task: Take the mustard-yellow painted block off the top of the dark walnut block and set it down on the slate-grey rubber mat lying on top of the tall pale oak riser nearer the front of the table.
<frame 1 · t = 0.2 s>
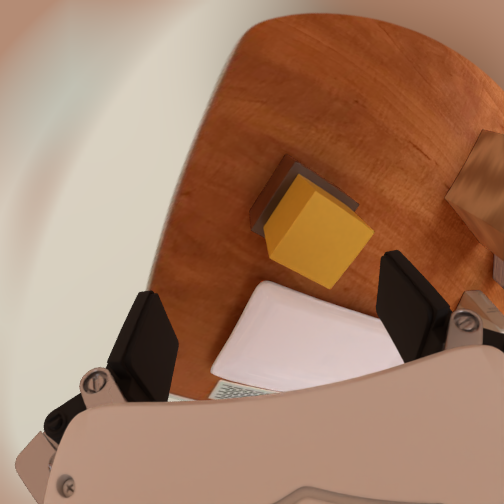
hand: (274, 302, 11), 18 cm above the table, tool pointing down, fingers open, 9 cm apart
top block: (307, 216, 23), point 5 cm above the table, touching base block
riser: (484, 189, 27), on the table
box: (467, 299, 36), on the table
base block: (296, 200, 28), on the table, touching top block
tray: (332, 345, 38), on the table
medicine box: (499, 254, 33), on the table
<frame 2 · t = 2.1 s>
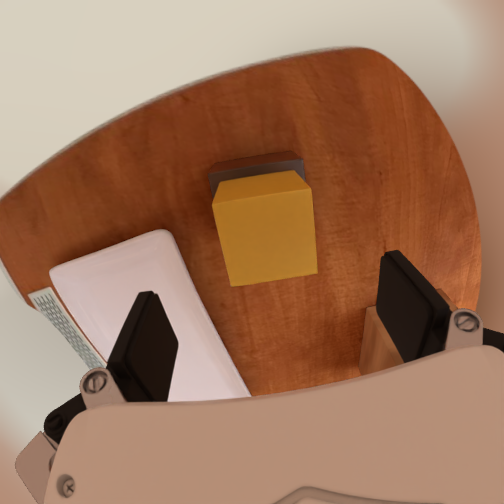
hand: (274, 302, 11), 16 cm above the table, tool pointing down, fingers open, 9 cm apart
top block: (262, 210, 21), point 5 cm above the table, touching base block
riser: (399, 330, 35), on the table
base block: (259, 193, 25), on the table, touching top block
tray: (167, 342, 34), on the table
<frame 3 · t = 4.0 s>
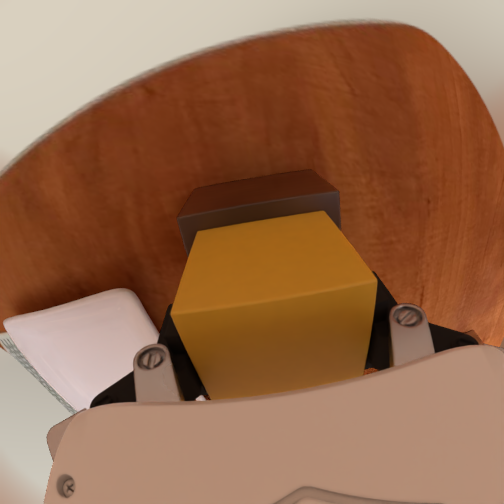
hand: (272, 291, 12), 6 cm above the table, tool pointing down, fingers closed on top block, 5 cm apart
top block: (269, 274, 13), point 5 cm above the table, touching base block, gripper
base block: (262, 232, 17), on the table, touching top block
tray: (150, 398, 26), on the table
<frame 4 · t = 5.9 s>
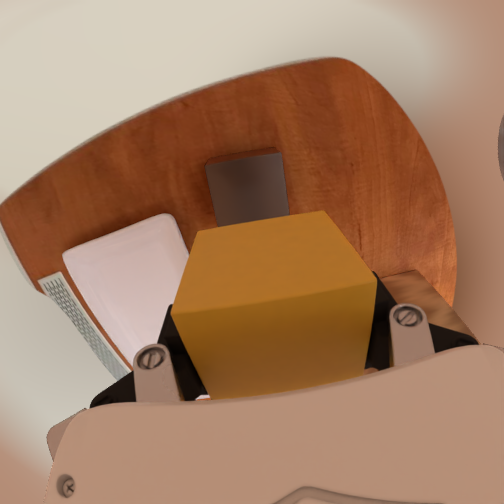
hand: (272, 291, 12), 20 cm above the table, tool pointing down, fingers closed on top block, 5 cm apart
top block: (269, 274, 13), point 19 cm above the table, touching gripper
riser: (379, 309, 39), on the table
base block: (247, 182, 30), on the table
tray: (167, 320, 38), on the table
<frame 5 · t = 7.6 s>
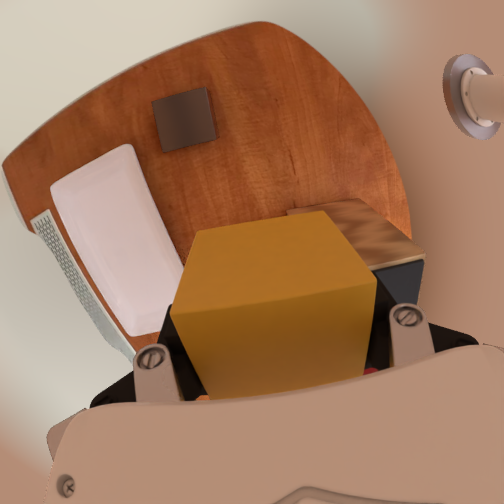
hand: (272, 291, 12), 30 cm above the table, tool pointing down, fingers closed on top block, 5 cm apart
top block: (269, 274, 13), point 29 cm above the table, touching gripper
mat: (373, 312, 27), resting on riser
riser: (326, 238, 44), on the table
base block: (190, 119, 35), on the table
tray: (131, 247, 43), on the table
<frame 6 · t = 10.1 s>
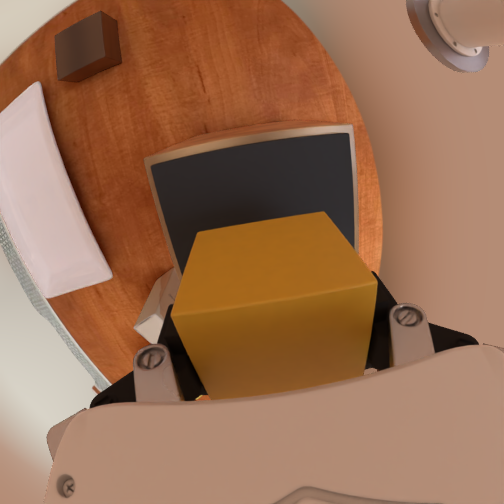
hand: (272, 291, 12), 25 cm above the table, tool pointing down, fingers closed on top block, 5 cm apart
top block: (269, 275, 13), point 23 cm above the table, touching gripper
mat: (264, 235, 17), resting on riser
riser: (252, 173, 34), on the table
box: (175, 283, 41), on the table
base block: (96, 50, 24), on the table
tray: (43, 194, 33), on the table
when the fingers open (21 cm above the table, at t = 11.6 s): top block stays where it is, resting on mat.
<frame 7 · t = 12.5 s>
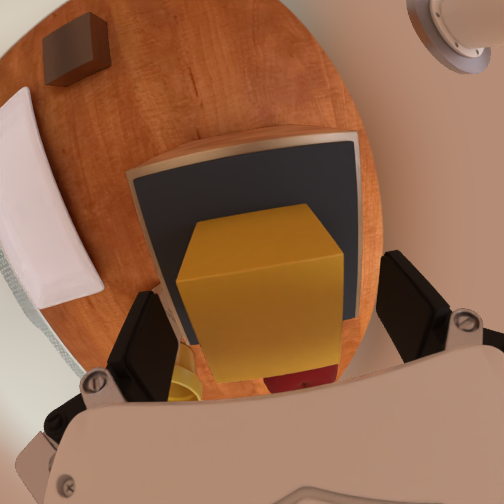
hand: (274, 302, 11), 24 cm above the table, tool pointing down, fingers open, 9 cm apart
top block: (259, 260, 15), point 19 cm above the table, touching mat
mat: (259, 255, 15), resting on riser
flower pot: (176, 352, 45), on the table
riser: (247, 181, 32), on the table
apple: (293, 337, 44), on the table
box: (169, 295, 39), on the table
base block: (85, 53, 23), on the table
tray: (33, 202, 31), on the table
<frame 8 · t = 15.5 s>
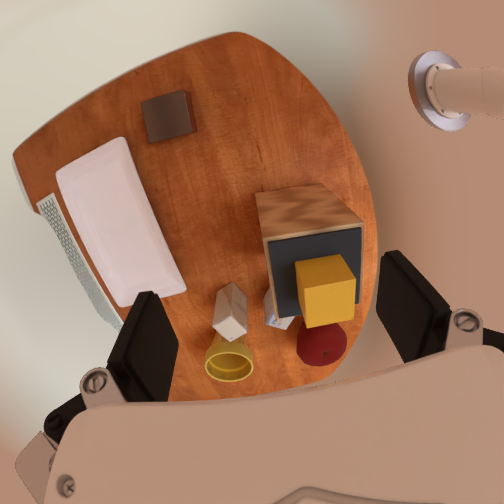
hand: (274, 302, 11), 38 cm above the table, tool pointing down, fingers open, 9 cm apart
top block: (318, 277, 33), point 19 cm above the table, touching mat
mat: (318, 274, 33), resting on riser
flower pot: (229, 336, 63), on the table
riser: (292, 219, 50), on the table
apple: (314, 322, 62), on the table
box: (231, 293, 57), on the table
base block: (173, 116, 41), on the table
tray: (123, 225, 50), on the table
medicine box: (279, 285, 57), on the table
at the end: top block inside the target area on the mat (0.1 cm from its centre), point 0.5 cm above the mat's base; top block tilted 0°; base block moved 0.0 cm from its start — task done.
